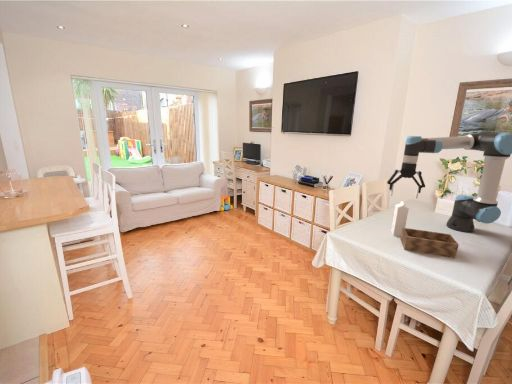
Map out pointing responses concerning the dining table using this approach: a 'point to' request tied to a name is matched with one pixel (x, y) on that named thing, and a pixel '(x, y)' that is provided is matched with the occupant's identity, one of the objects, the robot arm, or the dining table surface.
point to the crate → (429, 242)
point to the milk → (399, 219)
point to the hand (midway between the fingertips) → (403, 196)
